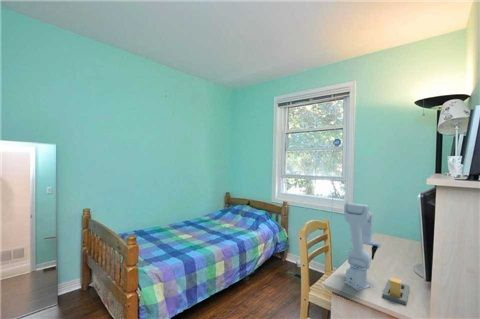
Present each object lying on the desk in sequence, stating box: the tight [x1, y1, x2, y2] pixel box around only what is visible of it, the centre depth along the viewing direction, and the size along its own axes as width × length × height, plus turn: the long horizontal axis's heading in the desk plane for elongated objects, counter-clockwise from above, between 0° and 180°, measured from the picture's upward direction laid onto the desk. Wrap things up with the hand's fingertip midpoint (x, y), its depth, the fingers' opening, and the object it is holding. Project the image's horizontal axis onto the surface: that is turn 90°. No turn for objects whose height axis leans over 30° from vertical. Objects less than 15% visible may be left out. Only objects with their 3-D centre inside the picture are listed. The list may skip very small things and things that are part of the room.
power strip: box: [381, 279, 410, 306], centre depth 111 cm, size 18×9×2 cm, turn 140°
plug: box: [389, 276, 402, 298], centre depth 108 cm, size 4×4×8 cm
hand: (364, 257), depth 130 cm, fingers open, 7 cm apart
